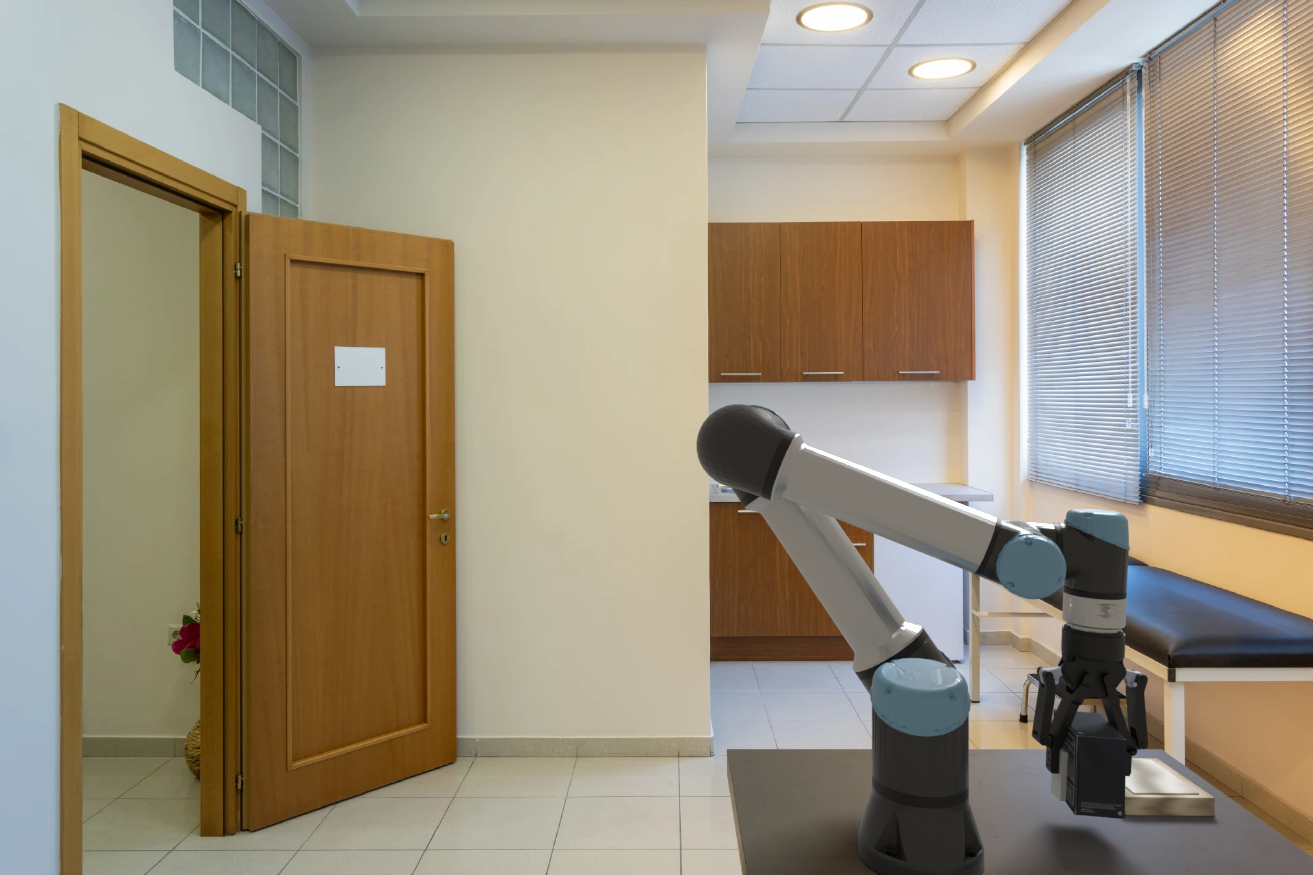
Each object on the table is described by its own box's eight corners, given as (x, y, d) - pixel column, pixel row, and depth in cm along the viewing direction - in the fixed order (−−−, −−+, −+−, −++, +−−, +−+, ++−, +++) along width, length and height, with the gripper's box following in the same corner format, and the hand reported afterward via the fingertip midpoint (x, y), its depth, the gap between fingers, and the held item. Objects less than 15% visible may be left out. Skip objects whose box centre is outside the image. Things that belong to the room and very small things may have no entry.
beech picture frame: (1126, 814, 117) (1126, 795, 117) (1078, 773, 131) (1078, 756, 131) (1214, 815, 116) (1214, 796, 116) (1156, 774, 130) (1156, 756, 130)
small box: (1129, 821, 106) (1130, 738, 106) (1074, 816, 107) (1074, 735, 107) (1100, 785, 117) (1101, 710, 116) (1050, 782, 118) (1050, 708, 118)
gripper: (1030, 630, 108) (1023, 807, 108) (1186, 635, 108) (1179, 813, 108) (1007, 617, 116) (1001, 782, 116) (1152, 622, 115) (1146, 788, 115)
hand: (1087, 797), depth 112 cm, fingers closed on small box, 7 cm apart
